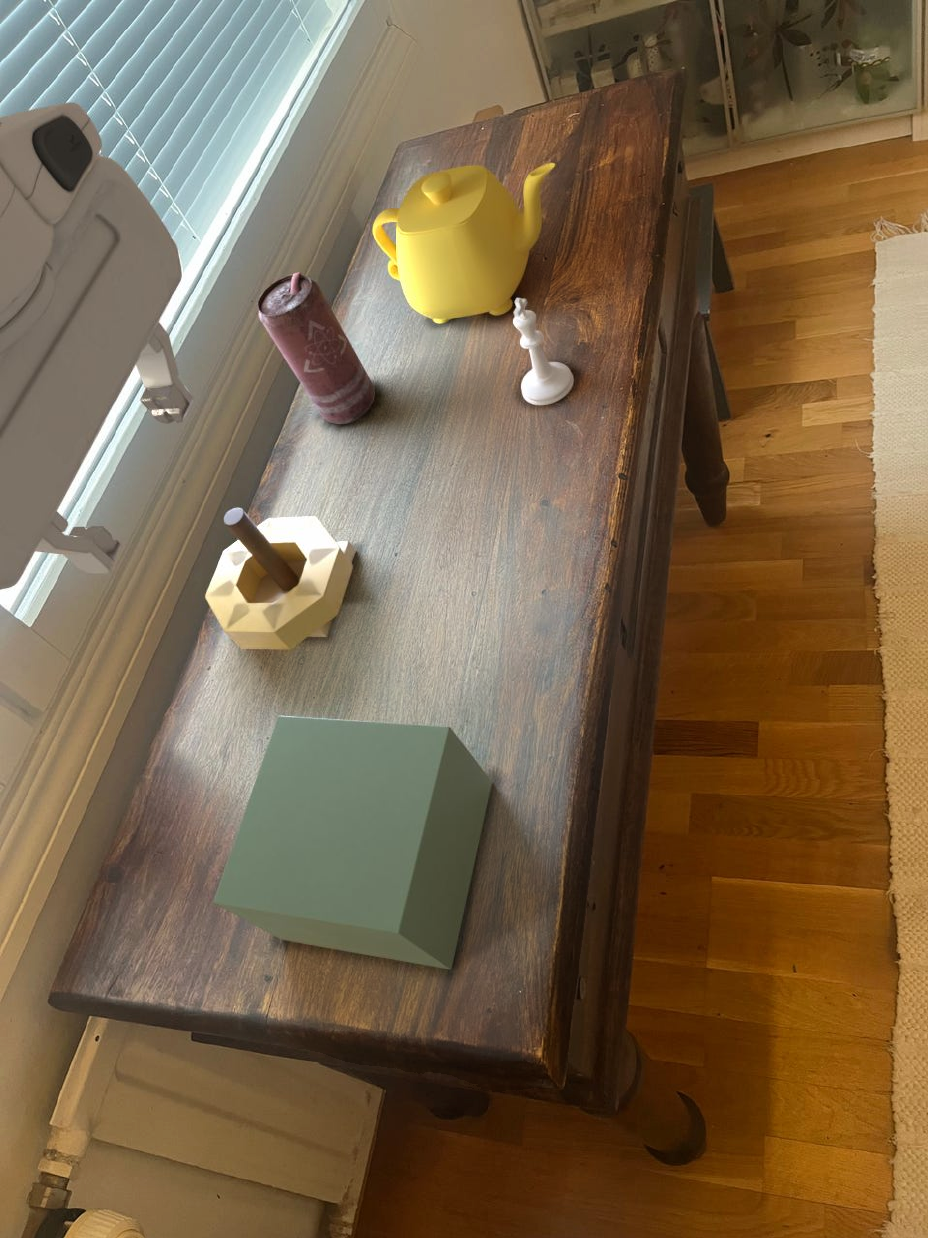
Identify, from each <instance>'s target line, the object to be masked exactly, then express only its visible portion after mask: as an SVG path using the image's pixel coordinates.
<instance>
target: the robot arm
mask: <svg viewBox="0 0 928 1238" xmlns="http://www.w3.org/2000/svg"><path fill="white" fill-rule="evenodd" d="M102 148H103V141H102V137H101V134H100V133H99V131H98V128H97V127H96V126H95V124H94V122H93V121H92V119H91V117H90V116H89V114H88V113H87V112H86V110H85V109H84V108H83V107H82V106H81V105H79V104H78V103H76V102H73V101H72V102H71V101H70V102H64V103H57V104H52V105H47V106H43V107H38V108H33V109H29V110H25V111H20V112H16V113H12V114H10V115H5V116H2V117H0V590H6V589H10V588H12V587H14V586H16V585H17V584H18V583H19V582H20V580H21V578H22V576H23V575H24V573H25V571H26V569H27V567H28V566H29V564H30V562H31V560H32V558H33V556H34V554H35V552H37V553H46V554H54V555H63V556H64V557H65V558H66V559H68V561H70V562H71V563H72V564H73V565H74V566H75V567H76V568H77V569H79V570H80V571H82V572H84V573H87V574H90V575H109V574H110V573H111V571H112V569H113V567H114V565H115V563H116V562H117V559H118V556H119V555H120V553H121V550H122V547H123V546H122V544H121V542H120V541H119V540H118V539H117V540H116V539H113V535H112V534H111V532H109V530H107V529H106V528H105V527H104V526H103V525H93V526H90V527H88V528H87V527H85V526H73V527H72V529H71V531H70V532H69V534H65V533H64V532H66V530H67V529H68V527H69V522H68V520H67V519H66V518H65V517H64V516H63V515H62V514H60V513H59V512H58V509H59V508H60V506H61V505H62V502H63V501H64V499H65V497H66V495H67V493H68V491H69V489H70V488H71V486H72V484H73V483H74V480H75V479H76V477H77V476H78V475H77V474H78V473H79V471H80V470H81V467H82V465H83V463H84V461H85V460H86V458H87V456H88V454H89V453H90V451H91V448H92V447H93V445H94V444H95V442H96V440H97V437H98V435H99V434H100V432H101V430H102V429H103V427H104V424H105V423H106V421H107V419H108V417H109V415H110V413H111V411H112V410H113V408H114V406H115V404H116V403H117V401H118V399H119V397H120V395H121V393H122V391H123V390H124V387H125V385H126V384H127V382H128V380H129V378H130V377H131V374H132V373H133V371H134V369H135V367H136V369H137V371H138V374H139V376H140V380H141V382H142V384H143V387H144V388H145V389H144V390H143V393H142V395H141V397H140V398H139V401H140V402H141V404H142V405H143V406H144V407H145V409H146V410H147V411H148V410H149V411H151V414H152V417H153V418H154V419H155V420H156V421H158V422H160V423H161V424H168V425H169V424H171V423H174V422H175V423H176V424H178V423H183V421H184V419H185V417H186V416H187V414H188V412H189V410H190V408H191V406H192V404H193V403H194V396H193V394H192V393H191V392H190V390H189V389H188V388H187V386H186V385H185V384H184V382H183V381H182V380H181V379H180V377H179V371H178V366H177V362H176V358H175V354H174V350H173V346H172V342H171V337H170V334H169V333H168V332H167V331H166V329H165V328H164V326H163V325H162V324H161V322H160V321H161V319H162V317H163V315H164V313H165V311H166V310H167V307H168V306H169V305H170V302H171V300H172V298H173V297H174V295H175V293H176V291H177V290H178V287H179V286H180V285H181V283H182V281H183V278H184V277H183V276H184V274H183V265H182V261H181V255H180V251H179V248H178V245H177V242H176V241H175V239H174V238H173V236H172V234H171V233H170V231H169V229H168V228H167V226H166V225H165V223H164V222H163V220H162V218H161V217H160V216H159V214H158V212H157V211H156V210H155V208H154V207H153V205H152V204H151V202H150V201H149V200H148V198H147V197H146V195H145V194H144V193H143V191H142V190H141V189H140V188H139V186H138V184H137V183H136V182H135V181H134V179H133V178H132V177H131V175H130V174H129V173H128V172H127V171H126V170H125V169H124V167H123V166H122V165H120V164H119V163H118V162H117V161H115V160H114V159H113V158H110V157H109V156H107V155H104V154H101V152H102Z"/></svg>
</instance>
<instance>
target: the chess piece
mask: <svg viewBox="0 0 928 1238" xmlns="http://www.w3.org/2000/svg"><path fill="white" fill-rule="evenodd" d="M514 304H515V309H514V310H513V316H514V317H513V319H512V320H513V321H512V323H513V325H514V327H515V328H516V329H517V330H518V331H519V332H520V334H521V337H520V339H519V344H520V346H521V348H523V349H524V350H528V351H529V356H530V361H531V366H532V368H530V370H529V371H528V372H527V373H525V375H524V377H523V378H522V380H521V384H520V387H521V388H520V389H521V394H522V395H521V396H522V397H523V399H524V400H525V401H526V402H527V403H529V404H531V405H535V406H546V405H551V404H554V403H556V402H559V401H560V400H562V399H563V398H564V397H566V396H567V395H568V394H569V393H570V391H571V390H572V388H573V386H574V381H575V379H574V374H573V373H572V371H571V369H570V368H569V367H568V366H567V365H566V364H565V363H562V362H560V361H549V360H548V358H547V356H546V355H545V353H544V351H543V348H542V347H541V344H543V341H544V338H545V337H544V334H543V333H542V331H540V330H537V327H536V326H537V325H536V324H537V315H536V313H535V312H534V311H533V310H530V309H525V308H526V307H527V305H528V299H527V298H521V297H516V298H515V300H514Z"/></svg>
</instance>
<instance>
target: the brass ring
mask: <svg viewBox="0 0 928 1238" xmlns="http://www.w3.org/2000/svg"><path fill="white" fill-rule="evenodd" d="M256 526H257V528H258V529H259V530H260V531H261V532H262V534H263V535H264V536H265V537H266V539H267V540H268V541H269V542H270V543H271V545H272V546H273V547H274V548H275V549H276V551H277V552H278V553H279V554H280V556H281V557H282V558H283V559H284V560H285V562H287V561H307V562H306V564H305V567H304V570H303V573H302V576H301V578H300V581H299V584H298V585H297V586H296V587H295V588H293V589H292V590H291V591H289V592H288V593H287V594H285V595H284V596H282V597H281V598H280V599H278V600H277V601H276V602H274V603H259V604H252V602H253V599H254V597H255V594H256V591H257V589H258V586H259V584H260V581H261V579H262V578H263V577H264V576H266V575H267V574H268V573H267V572H266V571H265V570H264V569H263V567H262V566H261V565H260V564H259V563H258V562H257V560H256V559H255V558H254V557H253V556H252V555H251V554H250V552H249V551H248V550H247V549H246V548H245V547H244V545H243V544H242V543H241V542H240V541H239V540H238V539H237V541H235V542H234V543H232V544H230V546H227V548H225V549H224V550H223V551H222V554H221V556H220V559H219V561H218V564H217V566H216V569H215V571H214V574H213V575H212V578H211V581H210V583H209V585H208V588H207V589H206V593H205V595H204V598H205V600H206V602H207V604H208V606H209V607H210V609H211V611H212V613H213V614H214V616H215V618H216V620H217V621H218V624H219V625H220V627H221V628H222V630H223V632H224V633H225V634H226V635H227V637H229V638H230V639H231V640H232V641H233V642H234V643H235V644H236V645H237V646H238V647H239V648H240V649H242V650H243V649H247V650H286V651H287V650H292V649H293V648H295V647H296V646H297V645H299V644H300V643H301V642H303V641H304V640H305V639H307V638H309V637H308V636H309V635H311V634H312V633H313V632H315V631H316V630H318V629H319V628H320V627H322V626H323V625H324V624H326V623H327V622H328V621H330V620H331V619H332V618H333V619H334V618H335V617H337V616H338V615H339V612H340V610H341V606H342V603H343V600H344V597H345V594H346V591H347V588H348V584H349V582H350V578H351V575H352V572H353V570H354V565H353V564H352V563H353V562H352V563H351V562H350V561H349V559H348V558H347V557H346V555H345V554H344V552H343V551H342V550H341V548H340V547H339V546H338V544H337V543H336V542H335V541H336V540H335V539H334V537H333V536H332V535H331V534H330V533H329V532H328V530H327V528H326V527H325V526H324V525H323V523H322V522H321V520H320V519H319V518H318V516H315V515H312V516H309V515H308V516H287V517H269V518H267V519H265V520H264V521H262V522H261V523H260V524H259V525H256Z"/></svg>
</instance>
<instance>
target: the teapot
mask: <svg viewBox="0 0 928 1238" xmlns="http://www.w3.org/2000/svg"><path fill="white" fill-rule="evenodd" d="M555 166H556V163H555V162H550V163H546V164H543V165H541V166H539V167H537V168H535V169H534V170H532V171H531V172H530V173H529V174H528V175H527V177H526V178H525V180H524V183H523V191H522V192H523V193H522V195H523V210H521V208H520V206H519V205H518V203H517V201H516V200H515V198H514V197H513V195H512V194H511V193H510V191H509V190H508V189H507V188H506V186H505V185H504V184H503V183H502V182H501V181H500V180H499V179H498V178H497V176H495V175H494V174H493V172H491V171H490V170H489V169H488V168H487V167H486V166H484V165H482V164H481V165H480V164H470V165H469V164H468V165H462V166H457V167H453V168H447V169H444V170H440V171H439V170H438V171H435V172H431V173H429V174H427V175H424V176H422V177H420V178H418V180H416V181H415V182H414V183H413V184H412V185H411V187H410V188H409V189H408V191H407V192H406V194H405V195H404V197H403V200H402V201H401V204H400V207H389V208H386V209H384V210H382V211H381V212H380V213H379V214H378V215H377V216H376V218H375V219H374V220H373V224H372V235H373V238H374V240H375V241H376V243H377V245H378V246H379V247H380V248H381V250H382V251H383V252H384V253H385V254H386V255H387V256H388V257H389V258H390V260H389V261H388V262H387V270H388V273H389V276H390V277H391V278H392V279H394V280H397V281H400V285H401V288H402V291H403V294H404V297H405V298H406V299H405V300H406V301H407V302H408V304H409V306H410V307H411V309H413V310H415V312H418V314H421V315H422V316H425V317H427V318H428V319H431V320H432V321H433V322H434V323H436V324H445V323H447V322H449V321H451V320H453V319H457V318H465V317H471V316H477V315H482V314H484V313H489V314H490V315H492V316H501V315H504V314H506V313H507V312H509V311H510V310H511V309H512V307H513V304H514V303H513V300H512V299H511V298H512V296H513V295H514V294H515V292H516V290H517V289H518V287H519V285H520V283H521V282H522V280H523V279H522V278H523V276H524V274H525V271H526V269H527V268H526V267H527V264H528V260H529V255H530V251H531V249H532V248H533V247H534V246H535V245H536V242H537V241H538V239H539V238H540V234H541V231H542V224H543V211H542V209H543V208H542V203H541V201H542V200H541V188H542V184H543V182H544V179H545V178H546V177H547V176H548V174H549V173H550V172H552V170H553V169H554V168H555ZM387 223H396V229H395V231H396V233H395V236H396V237H395V238H396V241H395V242H396V243H395V242H394V240H392V239H391V237H389V235H388V233H387V232H386V230H385V229H384V227H383V225H384V224H387Z"/></svg>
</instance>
